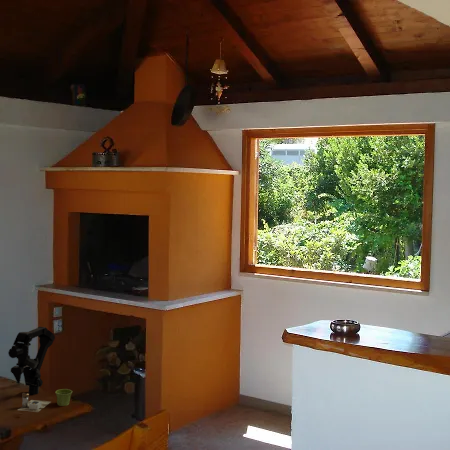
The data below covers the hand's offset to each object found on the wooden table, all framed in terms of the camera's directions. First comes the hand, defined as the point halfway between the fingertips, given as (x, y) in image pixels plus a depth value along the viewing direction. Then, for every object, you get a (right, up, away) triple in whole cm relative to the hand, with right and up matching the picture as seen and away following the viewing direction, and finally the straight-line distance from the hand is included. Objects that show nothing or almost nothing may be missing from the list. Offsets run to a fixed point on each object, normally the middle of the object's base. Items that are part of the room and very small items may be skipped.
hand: (22, 381), depth 356 cm
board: (+10, -13, -10) cm, 19 cm away
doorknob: (+6, -11, -13) cm, 18 cm away
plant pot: (+25, -14, -5) cm, 29 cm away
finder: (+12, -12, -14) cm, 22 cm away
